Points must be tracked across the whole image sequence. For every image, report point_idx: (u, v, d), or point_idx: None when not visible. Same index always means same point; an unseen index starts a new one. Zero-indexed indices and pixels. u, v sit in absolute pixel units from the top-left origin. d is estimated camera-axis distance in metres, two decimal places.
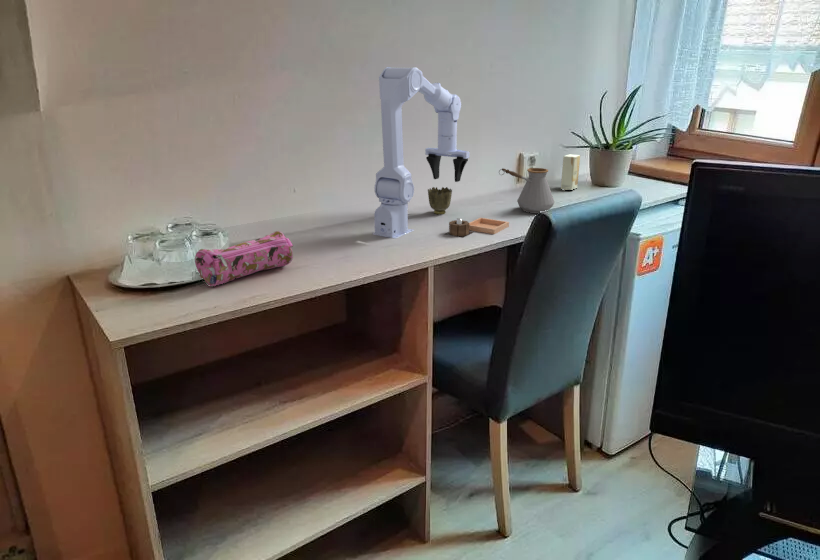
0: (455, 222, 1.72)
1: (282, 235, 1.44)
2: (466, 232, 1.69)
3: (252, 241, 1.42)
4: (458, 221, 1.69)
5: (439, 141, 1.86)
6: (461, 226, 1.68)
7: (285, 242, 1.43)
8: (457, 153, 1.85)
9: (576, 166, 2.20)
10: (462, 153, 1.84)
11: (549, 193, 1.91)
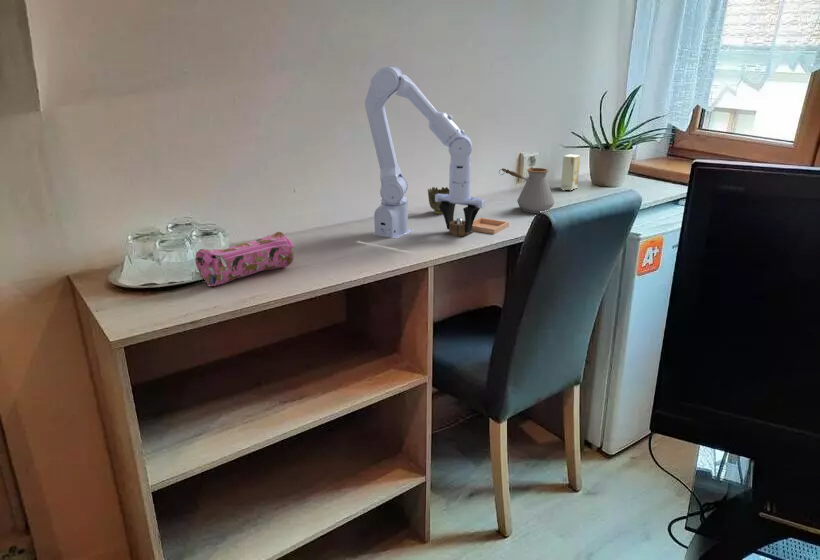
0: (455, 222, 1.72)
1: (283, 236, 1.44)
2: (466, 232, 1.69)
3: (253, 241, 1.41)
4: (458, 221, 1.69)
5: (451, 188, 1.65)
6: (461, 226, 1.68)
7: (286, 243, 1.43)
8: (471, 202, 1.64)
9: (577, 166, 2.20)
10: (477, 202, 1.64)
11: (549, 193, 1.91)
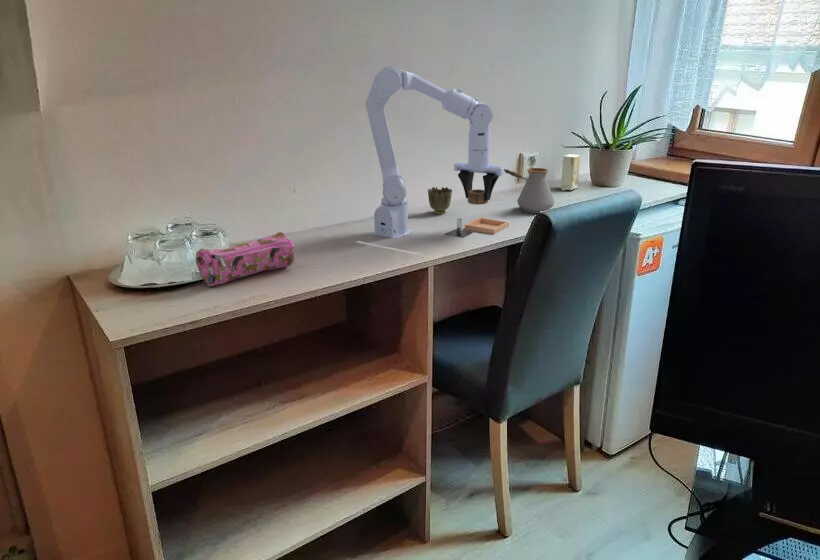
0: (474, 191, 1.72)
1: (284, 236, 1.43)
2: (485, 201, 1.69)
3: (254, 242, 1.41)
4: (458, 221, 1.69)
5: (470, 156, 1.65)
6: (480, 194, 1.68)
7: (287, 243, 1.42)
8: (490, 169, 1.64)
9: (577, 166, 2.20)
10: (496, 169, 1.64)
11: (549, 193, 1.91)
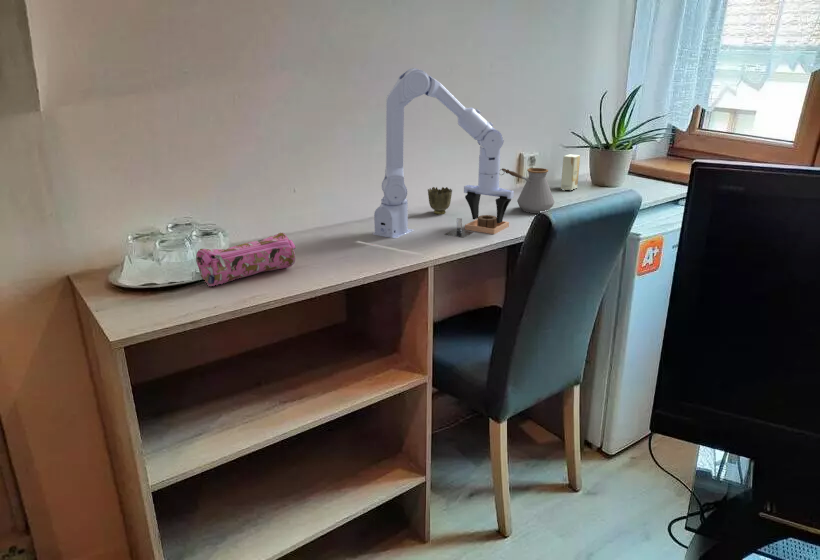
0: (483, 217, 1.76)
1: (285, 237, 1.43)
2: (494, 227, 1.74)
3: (254, 242, 1.41)
4: (458, 221, 1.69)
5: (480, 179, 1.70)
6: (490, 221, 1.73)
7: (287, 244, 1.42)
8: (500, 193, 1.69)
9: (577, 166, 2.20)
10: (506, 193, 1.68)
11: (549, 193, 1.91)
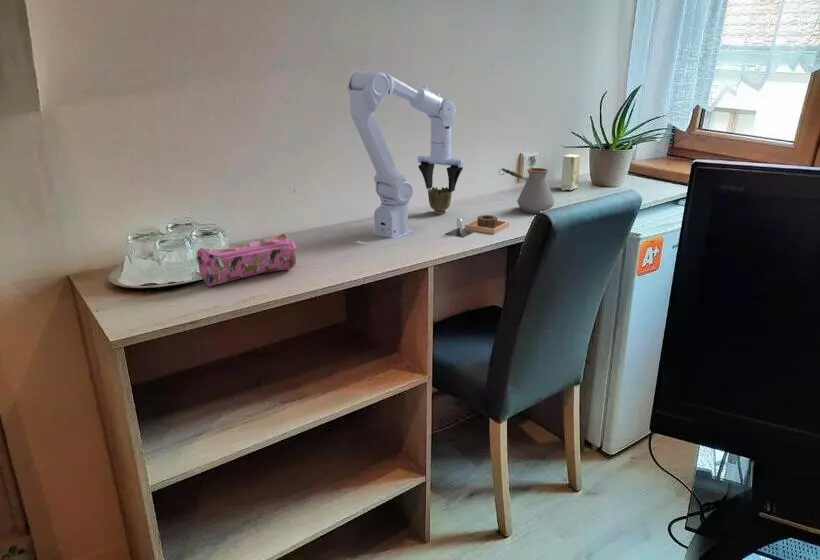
0: (483, 217, 1.76)
1: (286, 238, 1.42)
2: (494, 227, 1.74)
3: (255, 242, 1.41)
4: (458, 221, 1.69)
5: (432, 148, 1.74)
6: (490, 221, 1.73)
7: (288, 245, 1.41)
8: (451, 161, 1.73)
9: (577, 166, 2.20)
10: (456, 161, 1.73)
11: (549, 193, 1.91)
